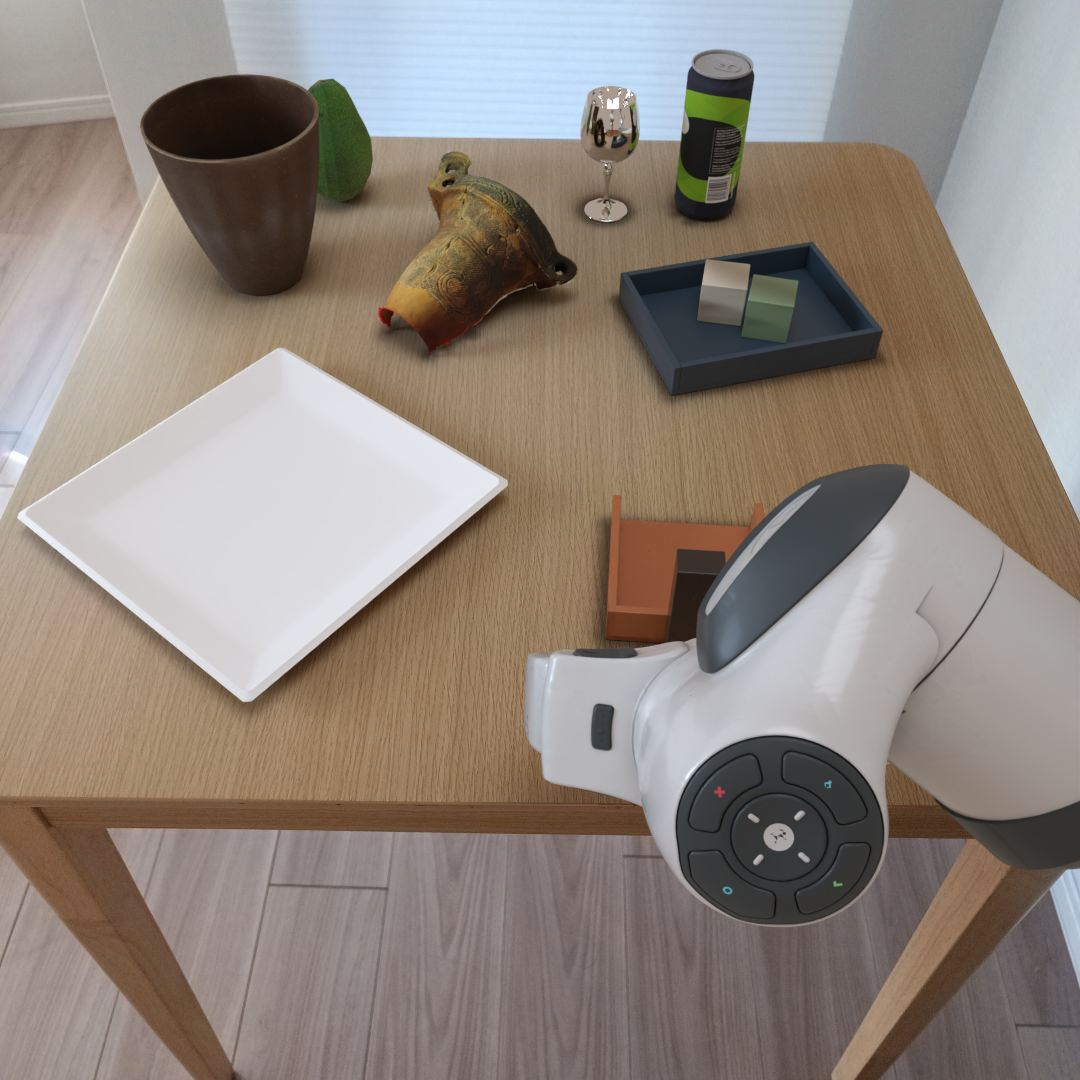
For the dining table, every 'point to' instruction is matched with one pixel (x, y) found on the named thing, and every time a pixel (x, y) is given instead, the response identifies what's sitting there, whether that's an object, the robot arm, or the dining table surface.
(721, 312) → the cream block
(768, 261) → the tray
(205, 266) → the dining table surface
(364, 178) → the fruit
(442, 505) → the plate
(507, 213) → the pot
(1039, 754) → the robot arm
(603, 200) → the wineglass
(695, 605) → the pan
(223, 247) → the plant pot
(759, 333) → the sage block
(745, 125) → the beverage can
